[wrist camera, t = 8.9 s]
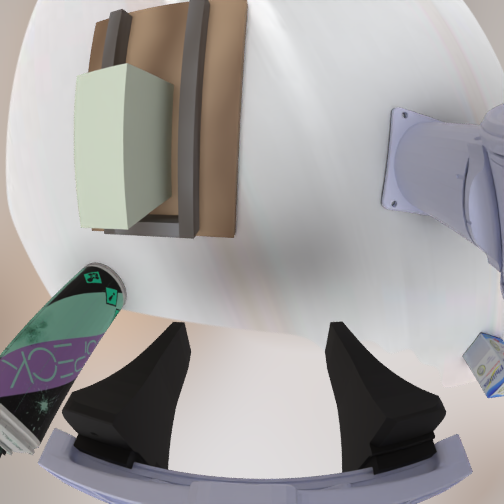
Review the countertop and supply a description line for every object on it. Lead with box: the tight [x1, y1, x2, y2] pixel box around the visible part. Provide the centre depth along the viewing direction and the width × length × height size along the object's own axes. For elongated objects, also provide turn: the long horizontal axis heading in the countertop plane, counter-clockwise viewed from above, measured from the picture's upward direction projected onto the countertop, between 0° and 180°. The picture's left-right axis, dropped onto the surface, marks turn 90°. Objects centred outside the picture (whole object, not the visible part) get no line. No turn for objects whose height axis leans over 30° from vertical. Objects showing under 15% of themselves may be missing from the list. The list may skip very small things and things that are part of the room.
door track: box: [88, 0, 248, 239], centre depth 16 cm, size 12×18×3 cm, turn 177°
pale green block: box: [74, 63, 174, 230], centre depth 14 cm, size 3×8×7 cm, turn 177°
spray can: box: [0, 263, 126, 457], centre depth 14 cm, size 6×6×20 cm
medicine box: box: [463, 333, 504, 398], centre depth 22 cm, size 8×4×9 cm, turn 71°
